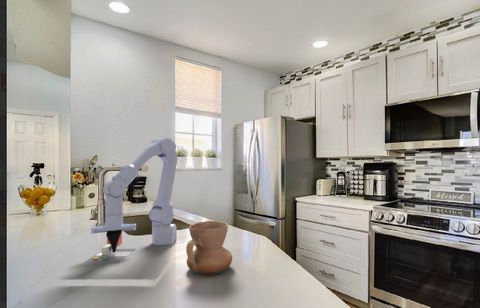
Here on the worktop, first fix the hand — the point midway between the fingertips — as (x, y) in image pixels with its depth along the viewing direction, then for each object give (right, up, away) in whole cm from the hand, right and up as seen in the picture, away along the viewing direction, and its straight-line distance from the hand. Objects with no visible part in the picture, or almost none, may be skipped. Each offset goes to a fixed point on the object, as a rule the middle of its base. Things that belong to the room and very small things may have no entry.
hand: (114, 251), depth 97 cm
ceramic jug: (+35, -2, -11) cm, 37 cm away
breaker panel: (-1, -2, -1) cm, 3 cm away
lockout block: (-5, -3, +11) cm, 13 cm away
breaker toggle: (-2, -1, 0) cm, 3 cm away
